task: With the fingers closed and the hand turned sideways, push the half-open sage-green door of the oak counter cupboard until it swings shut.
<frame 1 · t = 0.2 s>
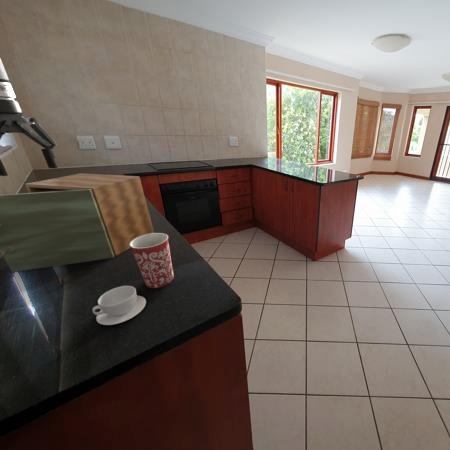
hand: (30, 171, 78), 27 cm above the counter, tool pointing down, fingers open, 13 cm apart
door: (47, 234, 70), point 12 cm above the counter, hinge at 30.0°
cupboard: (107, 241, 92), on the counter
teacup: (123, 311, 58), on the counter
mug: (162, 277, 71), on the counter
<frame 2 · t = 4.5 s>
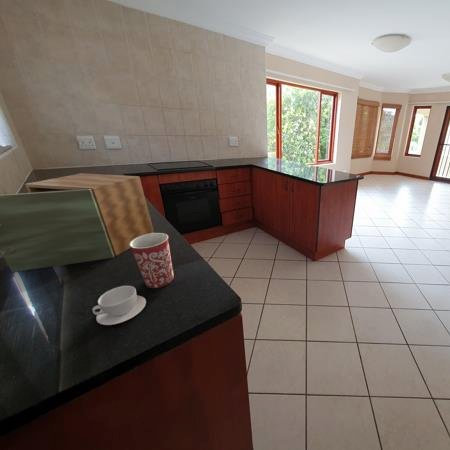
nothing on the counter moved.
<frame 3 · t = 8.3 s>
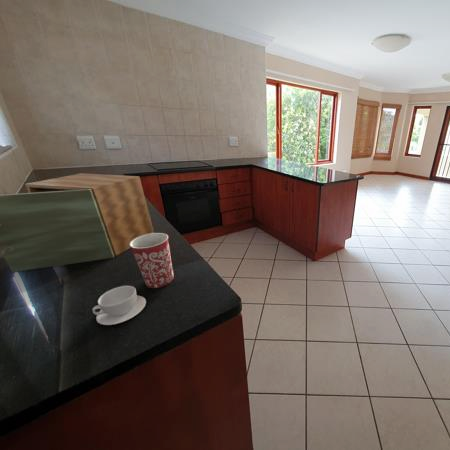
nothing on the counter moved.
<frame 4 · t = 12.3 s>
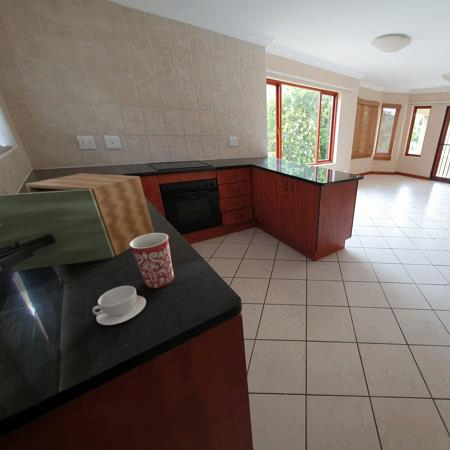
hand: (51, 238, 72), 10 cm above the counter, tool horizontal, fingers closed
door: (47, 233, 70), point 12 cm above the counter, hinge at 29.3°, touching gripper
everything else where it was.
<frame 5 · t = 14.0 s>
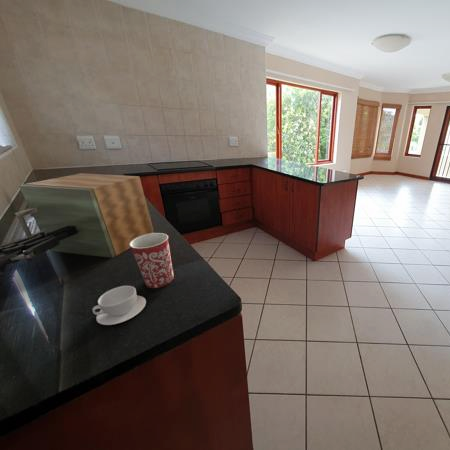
hand: (73, 229, 78), 10 cm above the counter, tool horizontal, fingers closed, pressing on door
door: (60, 225, 76), point 12 cm above the counter, hinge at 0.3°, touching gripper
everything else where it was.
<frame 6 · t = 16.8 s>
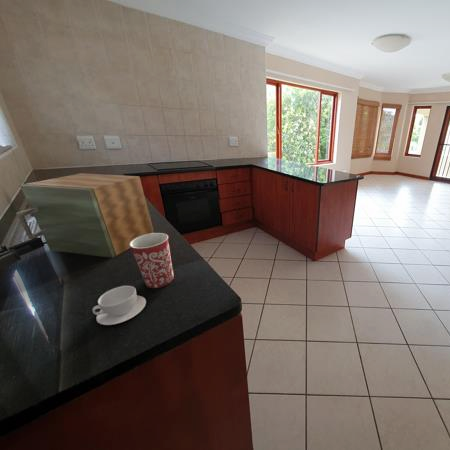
hand: (40, 241, 69), 10 cm above the counter, tool horizontal, fingers closed
door: (61, 225, 76), point 12 cm above the counter, hinge at -0.2°
everything else where it was.
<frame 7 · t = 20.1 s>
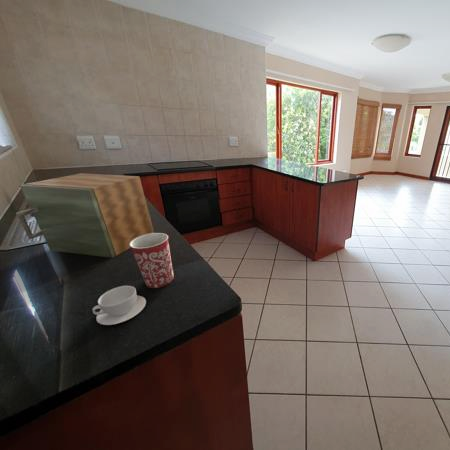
nothing on the counter moved.
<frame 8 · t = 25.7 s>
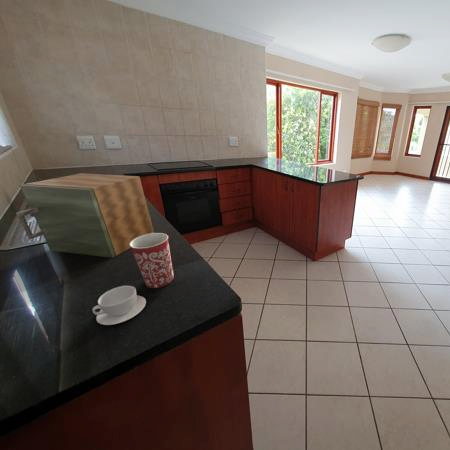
nothing on the counter moved.
at the end: door at +0° (first picture: +30°); mug moved 0.2 cm from its start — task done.
